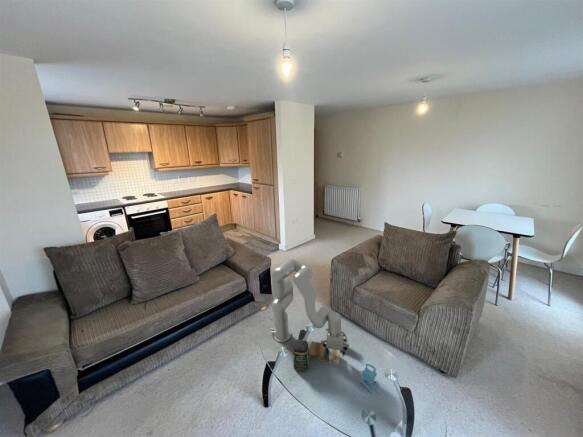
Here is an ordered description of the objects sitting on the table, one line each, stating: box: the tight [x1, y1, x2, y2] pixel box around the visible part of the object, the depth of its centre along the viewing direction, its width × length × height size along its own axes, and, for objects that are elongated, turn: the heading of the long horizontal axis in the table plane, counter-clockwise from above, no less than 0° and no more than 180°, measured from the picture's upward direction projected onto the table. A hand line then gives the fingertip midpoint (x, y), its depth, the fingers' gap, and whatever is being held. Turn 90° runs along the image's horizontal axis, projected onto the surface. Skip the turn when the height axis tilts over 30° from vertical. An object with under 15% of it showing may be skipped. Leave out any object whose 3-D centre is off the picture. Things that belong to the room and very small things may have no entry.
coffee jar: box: [292, 339, 310, 372], centre depth 146 cm, size 10×8×19 cm
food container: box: [341, 330, 348, 346], centre depth 160 cm, size 12×6×10 cm, turn 58°
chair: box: [360, 363, 379, 394], centre depth 134 cm, size 8×8×12 cm
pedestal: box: [308, 340, 327, 362], centre depth 157 cm, size 10×10×4 cm
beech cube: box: [328, 349, 341, 366], centre depth 151 cm, size 6×6×6 cm
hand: (335, 353), depth 149 cm, fingers open, 9 cm apart
